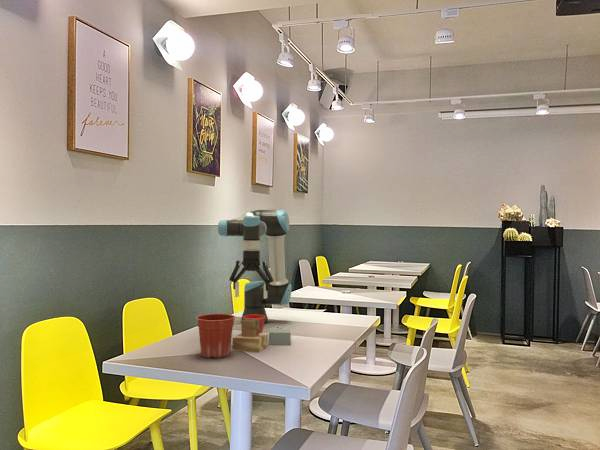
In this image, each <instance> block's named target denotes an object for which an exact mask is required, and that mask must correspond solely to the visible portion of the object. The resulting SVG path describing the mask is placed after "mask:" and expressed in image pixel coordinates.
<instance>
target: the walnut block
mask: <svg viewBox="0 0 600 450" xmlns="http://www.w3.org/2000/svg"><path fill="white" fill-rule="evenodd" d="M258 335H259V319H249V318H247V319H244V320H242V323H241V336H242V337H256V336H258Z"/></svg>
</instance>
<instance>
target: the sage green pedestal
mask: <svg viewBox="0 0 600 450" xmlns="http://www.w3.org/2000/svg"><path fill="white" fill-rule="evenodd" d="M291 335H292V334H291V327H290V328H285V327H284V328H277V327H276V328H274V327H271V328H268V346H292V345H291V340H292V339H291V337H292V336H291Z"/></svg>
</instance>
